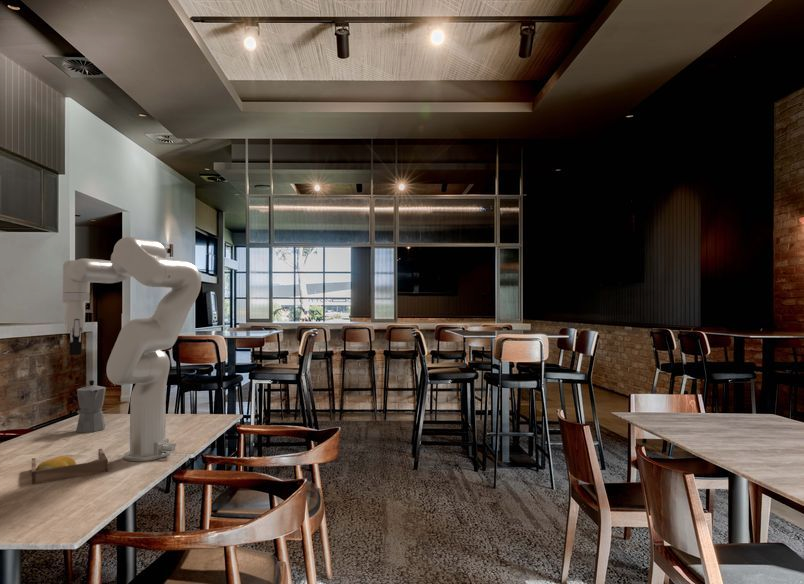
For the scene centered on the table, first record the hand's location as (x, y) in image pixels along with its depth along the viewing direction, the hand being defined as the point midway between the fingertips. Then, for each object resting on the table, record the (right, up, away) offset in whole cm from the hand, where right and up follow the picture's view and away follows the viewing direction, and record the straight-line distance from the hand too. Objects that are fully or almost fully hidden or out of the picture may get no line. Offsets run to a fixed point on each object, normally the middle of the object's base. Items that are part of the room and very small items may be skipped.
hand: (75, 354), depth 167 cm
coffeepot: (-8, -30, +20) cm, 37 cm away
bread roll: (+13, -29, -29) cm, 42 cm away
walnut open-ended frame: (+16, -28, -28) cm, 43 cm away
